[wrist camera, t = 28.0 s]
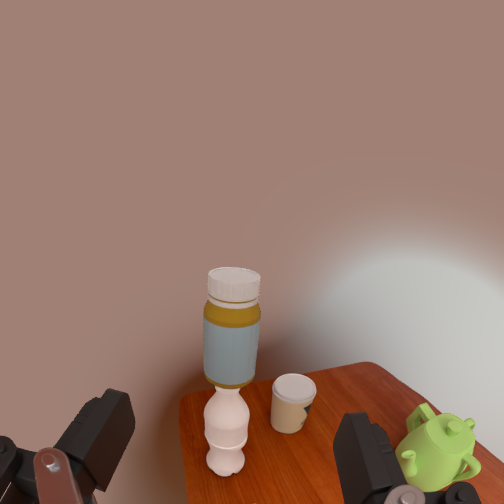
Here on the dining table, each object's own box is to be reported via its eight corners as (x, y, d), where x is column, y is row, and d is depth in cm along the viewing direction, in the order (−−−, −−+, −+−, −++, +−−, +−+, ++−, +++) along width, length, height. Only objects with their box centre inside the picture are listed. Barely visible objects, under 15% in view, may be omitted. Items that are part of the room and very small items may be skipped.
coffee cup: (307, 437, 51) (318, 400, 48) (265, 434, 52) (271, 397, 49) (305, 410, 60) (315, 373, 57) (268, 407, 61) (273, 370, 58)
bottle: (264, 375, 37) (275, 276, 34) (230, 399, 32) (236, 289, 28) (227, 356, 41) (232, 263, 38) (193, 374, 36) (192, 272, 32)
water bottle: (245, 456, 45) (256, 364, 40) (241, 482, 38) (250, 395, 33) (211, 450, 46) (209, 357, 40) (203, 475, 39) (196, 386, 33)
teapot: (460, 447, 38) (489, 403, 35) (449, 509, 22) (491, 469, 19) (397, 432, 49) (420, 388, 46) (372, 493, 33) (403, 453, 30)
